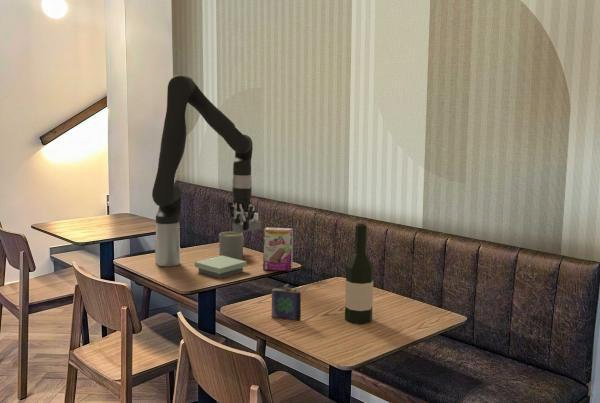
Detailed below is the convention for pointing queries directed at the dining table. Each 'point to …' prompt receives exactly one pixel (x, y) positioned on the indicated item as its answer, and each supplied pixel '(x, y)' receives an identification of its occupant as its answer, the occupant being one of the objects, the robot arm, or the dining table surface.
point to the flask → (286, 304)
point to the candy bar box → (278, 249)
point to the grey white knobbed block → (253, 225)
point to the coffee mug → (231, 244)
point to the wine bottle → (359, 281)
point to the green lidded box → (220, 266)
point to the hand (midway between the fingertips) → (241, 229)
